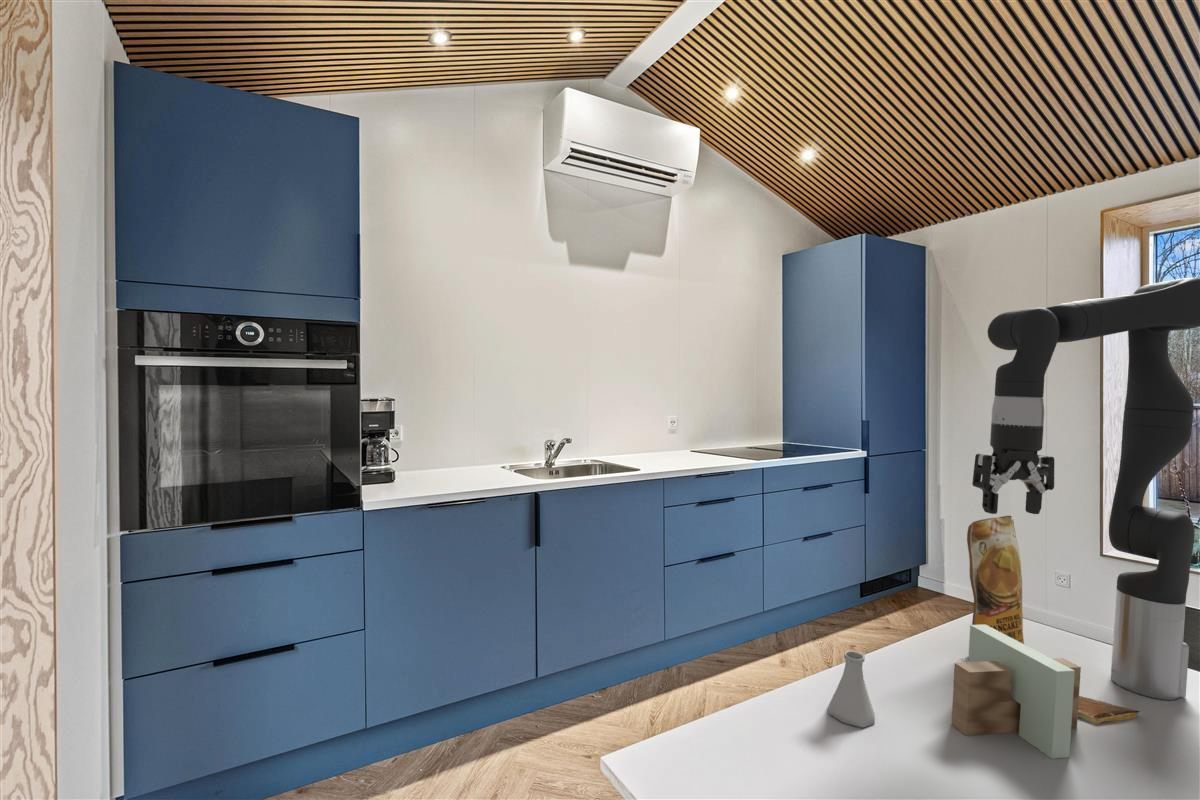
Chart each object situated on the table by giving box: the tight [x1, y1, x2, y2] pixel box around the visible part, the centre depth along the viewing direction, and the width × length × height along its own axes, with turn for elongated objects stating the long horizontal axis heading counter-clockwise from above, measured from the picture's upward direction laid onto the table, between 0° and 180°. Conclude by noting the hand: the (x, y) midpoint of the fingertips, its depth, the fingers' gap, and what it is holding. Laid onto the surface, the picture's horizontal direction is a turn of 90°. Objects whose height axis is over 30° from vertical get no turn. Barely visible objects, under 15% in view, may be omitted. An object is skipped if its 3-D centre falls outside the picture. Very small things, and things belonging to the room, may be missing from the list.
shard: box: [1078, 695, 1141, 725], centre depth 96 cm, size 11×8×2 cm
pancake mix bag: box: [966, 515, 1025, 645], centre depth 117 cm, size 7×19×28 cm, turn 115°
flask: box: [827, 649, 875, 729], centre depth 93 cm, size 7×7×10 cm
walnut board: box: [950, 657, 1082, 737], centre depth 92 cm, size 20×3×10 cm, turn 99°
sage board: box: [967, 624, 1075, 760], centre depth 92 cm, size 16×3×13 cm, turn 9°
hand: (1011, 513), depth 102 cm, fingers open, 8 cm apart
